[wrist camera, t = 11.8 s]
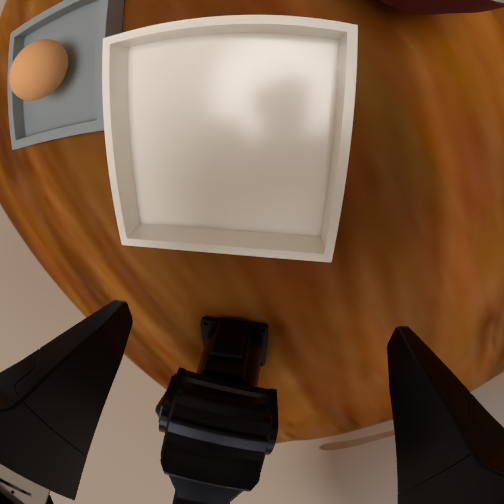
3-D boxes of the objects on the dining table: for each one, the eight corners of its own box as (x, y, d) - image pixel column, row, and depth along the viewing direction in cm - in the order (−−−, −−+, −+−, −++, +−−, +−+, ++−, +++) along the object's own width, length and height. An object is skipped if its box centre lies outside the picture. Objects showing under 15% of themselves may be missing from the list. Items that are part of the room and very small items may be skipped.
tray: (122, 124, 18) (106, 129, 16) (27, 143, 19) (12, 150, 17) (126, -14, 11) (111, -21, 10) (26, 32, 12) (10, 33, 11)
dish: (326, 240, 21) (331, 262, 18) (138, 226, 22) (121, 244, 20) (346, 35, 13) (357, 24, 10) (125, 42, 14) (102, 38, 12)
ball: (80, 89, 16) (37, 95, 11) (39, 102, 16) (-2, 112, 12) (81, 32, 13) (40, 27, 9) (39, 51, 13) (-2, 53, 9)
